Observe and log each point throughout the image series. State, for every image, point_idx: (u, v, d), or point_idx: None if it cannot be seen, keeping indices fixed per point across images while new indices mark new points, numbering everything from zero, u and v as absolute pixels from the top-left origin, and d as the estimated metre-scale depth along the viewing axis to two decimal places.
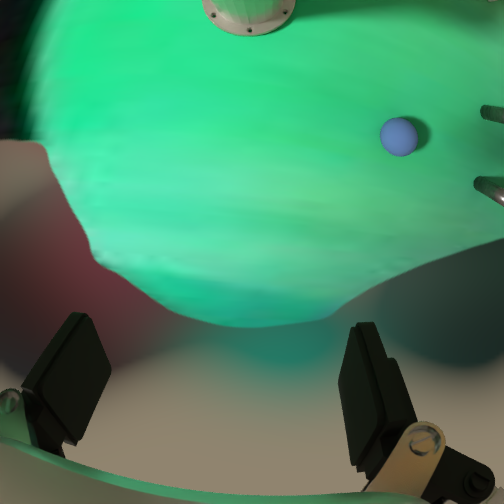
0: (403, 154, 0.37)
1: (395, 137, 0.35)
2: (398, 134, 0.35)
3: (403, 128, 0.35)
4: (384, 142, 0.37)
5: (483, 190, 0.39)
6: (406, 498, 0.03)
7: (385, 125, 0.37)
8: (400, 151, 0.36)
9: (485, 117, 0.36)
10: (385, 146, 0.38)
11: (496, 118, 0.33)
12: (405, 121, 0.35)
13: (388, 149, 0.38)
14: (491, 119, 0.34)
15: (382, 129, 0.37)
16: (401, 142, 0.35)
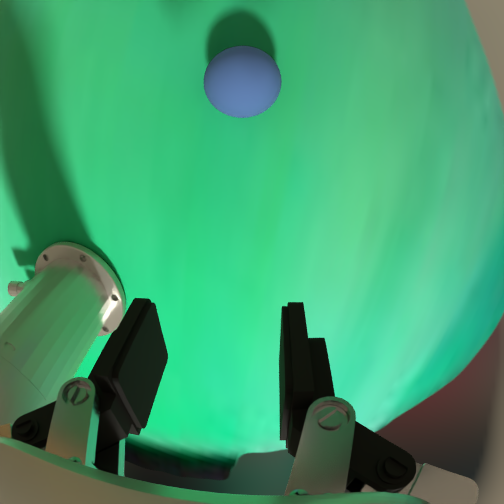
0: (273, 77, 0.18)
1: (238, 101, 0.19)
2: (231, 96, 0.18)
3: (217, 86, 0.18)
4: (256, 114, 0.20)
5: None
6: (406, 498, 0.03)
7: (222, 112, 0.21)
8: (266, 86, 0.18)
9: None
10: (263, 110, 0.20)
11: None
12: (205, 78, 0.19)
13: (268, 105, 0.20)
14: None
15: (231, 115, 0.21)
16: (246, 89, 0.18)
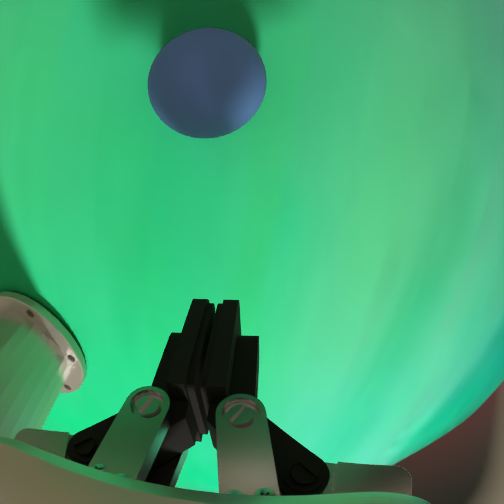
0: (253, 73, 0.11)
1: (196, 114, 0.12)
2: (184, 106, 0.11)
3: (162, 91, 0.11)
4: (227, 132, 0.13)
5: None
6: (406, 498, 0.03)
7: (177, 131, 0.14)
8: (241, 88, 0.11)
9: None
10: (238, 127, 0.13)
11: None
12: (149, 79, 0.12)
13: (245, 119, 0.13)
14: None
15: None
16: (208, 94, 0.11)
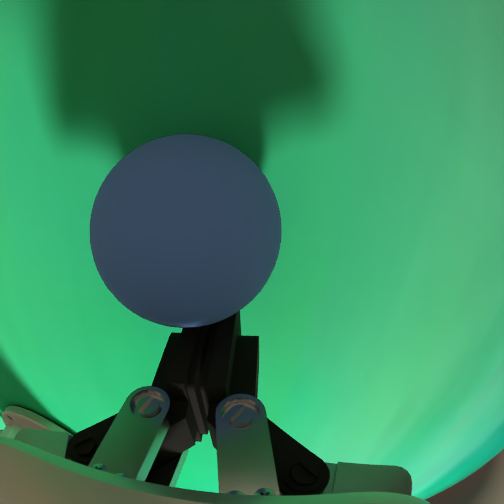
0: (260, 185, 0.08)
1: (148, 229, 0.06)
2: (130, 212, 0.06)
3: (105, 193, 0.07)
4: (208, 301, 0.07)
5: None
6: (406, 498, 0.03)
7: (120, 300, 0.08)
8: (239, 194, 0.07)
9: None
10: (231, 295, 0.07)
11: None
12: None
13: (245, 275, 0.07)
14: None
15: (145, 316, 0.08)
16: (176, 188, 0.06)
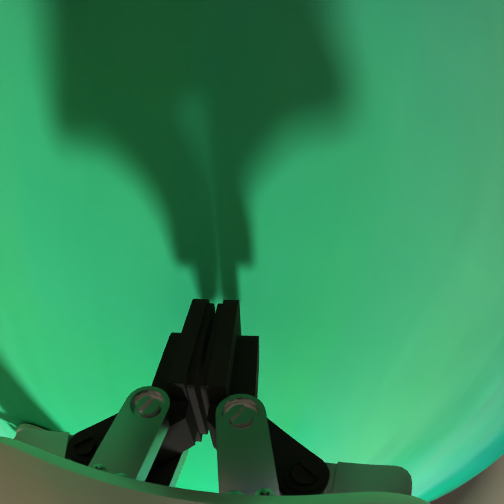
0: None
1: None
2: None
3: None
4: None
5: None
6: (406, 498, 0.03)
7: None
8: None
9: None
10: None
11: None
12: None
13: None
14: None
15: None
16: None
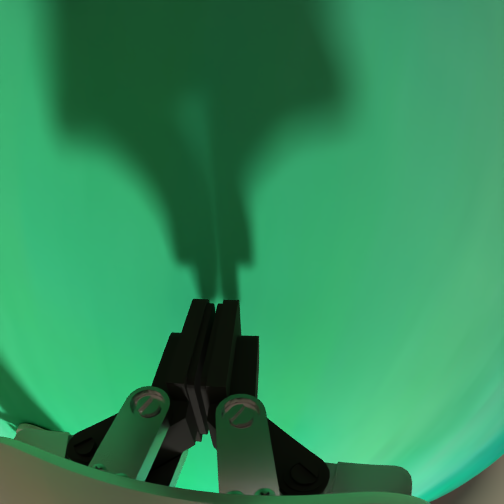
0: None
1: None
2: None
3: None
4: None
5: None
6: (406, 498, 0.03)
7: None
8: None
9: None
10: None
11: None
12: None
13: None
14: None
15: None
16: None
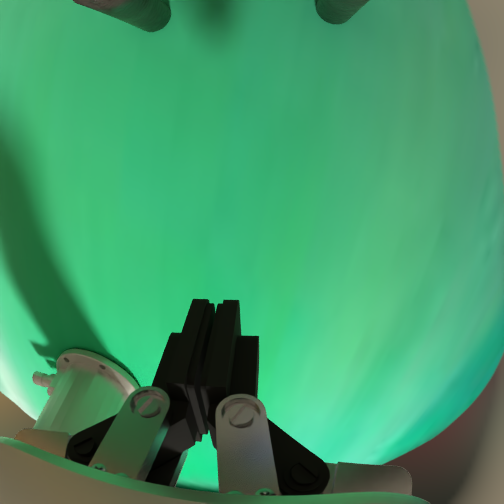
0: None
1: None
2: None
3: None
4: None
5: (350, 13, 0.14)
6: (406, 498, 0.03)
7: None
8: None
9: (162, 21, 0.16)
10: None
11: (141, 13, 0.13)
12: None
13: None
14: (156, 13, 0.15)
15: None
16: None
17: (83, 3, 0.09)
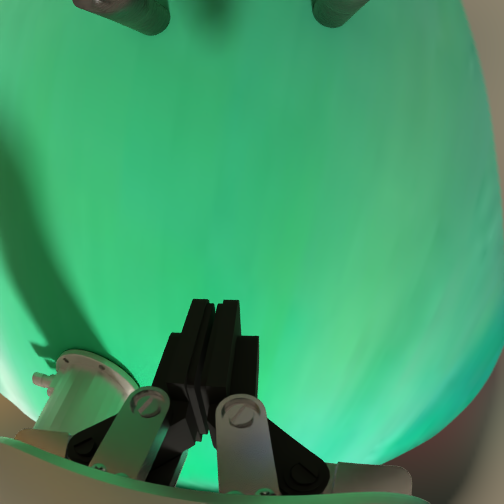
0: None
1: None
2: None
3: None
4: None
5: (346, 16, 0.14)
6: (406, 498, 0.03)
7: None
8: None
9: (161, 24, 0.16)
10: None
11: (141, 17, 0.14)
12: None
13: None
14: (155, 17, 0.15)
15: None
16: None
17: (84, 7, 0.10)
